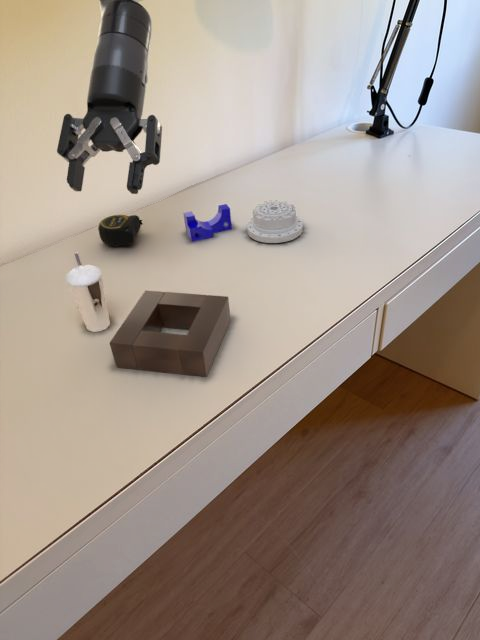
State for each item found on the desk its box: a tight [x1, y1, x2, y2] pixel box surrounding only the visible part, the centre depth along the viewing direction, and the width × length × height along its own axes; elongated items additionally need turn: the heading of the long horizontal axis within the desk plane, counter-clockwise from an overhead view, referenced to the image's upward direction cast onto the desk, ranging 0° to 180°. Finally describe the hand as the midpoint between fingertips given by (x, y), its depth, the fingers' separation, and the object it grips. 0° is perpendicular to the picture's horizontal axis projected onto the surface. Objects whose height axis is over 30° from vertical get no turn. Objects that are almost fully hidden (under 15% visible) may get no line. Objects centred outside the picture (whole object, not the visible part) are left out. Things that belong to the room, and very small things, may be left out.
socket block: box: [109, 289, 232, 378], centre depth 69 cm, size 12×12×4 cm
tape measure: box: [97, 214, 144, 247], centre depth 93 cm, size 7×7×4 cm
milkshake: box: [65, 252, 111, 333], centre depth 71 cm, size 5×5×10 cm
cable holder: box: [183, 203, 233, 243], centre depth 94 cm, size 8×4×4 cm, turn 112°
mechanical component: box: [246, 199, 304, 244], centre depth 93 cm, size 10×4×10 cm
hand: (103, 190), depth 73 cm, fingers open, 8 cm apart
